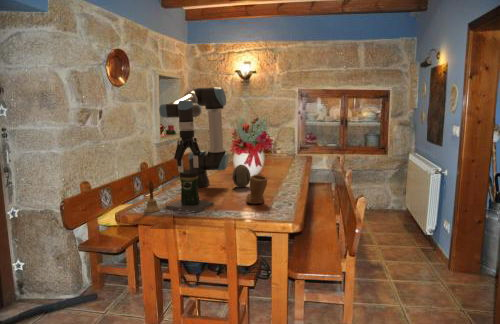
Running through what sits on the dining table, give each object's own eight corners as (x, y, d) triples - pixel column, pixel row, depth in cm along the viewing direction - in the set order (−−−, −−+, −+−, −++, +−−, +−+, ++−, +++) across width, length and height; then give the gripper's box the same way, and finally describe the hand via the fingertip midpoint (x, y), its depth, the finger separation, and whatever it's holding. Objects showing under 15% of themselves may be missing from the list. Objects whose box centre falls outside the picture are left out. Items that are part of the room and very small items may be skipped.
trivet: (165, 208, 204) (165, 205, 204) (183, 201, 218) (183, 198, 218) (196, 212, 195) (196, 209, 195) (213, 204, 209) (213, 202, 209)
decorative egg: (254, 186, 251) (254, 164, 248) (241, 190, 242) (241, 166, 240) (241, 184, 259) (241, 162, 256) (229, 187, 250) (228, 164, 248)
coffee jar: (201, 201, 210) (199, 168, 207) (196, 205, 202) (195, 171, 199) (184, 201, 211) (182, 168, 208) (179, 205, 204) (177, 170, 201)
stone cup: (267, 205, 206) (266, 178, 204) (245, 205, 207) (244, 178, 204) (268, 198, 221) (267, 172, 218) (247, 198, 222) (247, 172, 219)
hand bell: (145, 208, 204) (143, 179, 202) (161, 207, 205) (159, 178, 202) (142, 212, 196) (140, 182, 194) (159, 212, 197) (157, 181, 194)
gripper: (177, 132, 187) (180, 174, 191) (205, 128, 209) (207, 166, 213) (165, 132, 191) (168, 173, 194) (194, 127, 213) (196, 165, 216)
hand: (188, 169), depth 204 cm, fingers open, 13 cm apart
